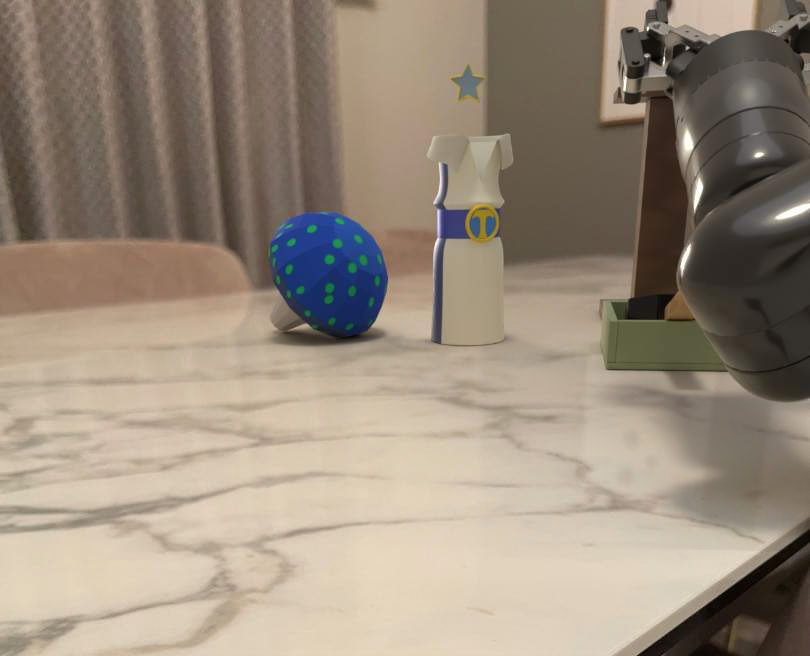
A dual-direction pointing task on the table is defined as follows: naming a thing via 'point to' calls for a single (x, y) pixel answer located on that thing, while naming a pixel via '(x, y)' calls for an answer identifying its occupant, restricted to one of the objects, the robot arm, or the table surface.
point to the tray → (654, 343)
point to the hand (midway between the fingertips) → (720, 12)
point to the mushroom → (326, 275)
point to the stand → (657, 202)
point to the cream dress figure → (469, 232)
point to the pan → (657, 308)
